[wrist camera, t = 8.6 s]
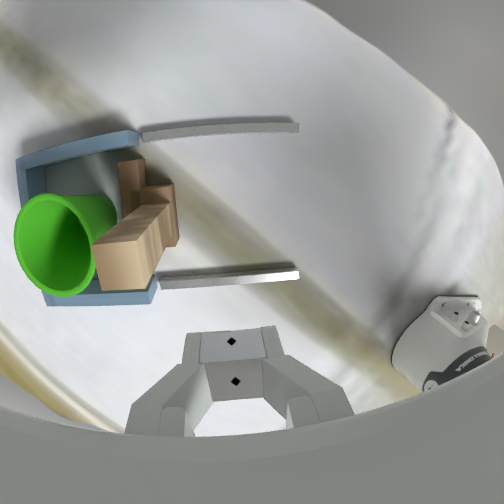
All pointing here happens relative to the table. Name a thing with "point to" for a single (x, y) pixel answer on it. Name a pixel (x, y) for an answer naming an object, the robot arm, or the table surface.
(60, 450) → the robot arm
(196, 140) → the table surface
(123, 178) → the stepped wooden block
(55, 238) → the cup
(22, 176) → the bay
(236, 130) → the track
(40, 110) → the table surface
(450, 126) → the table surface
